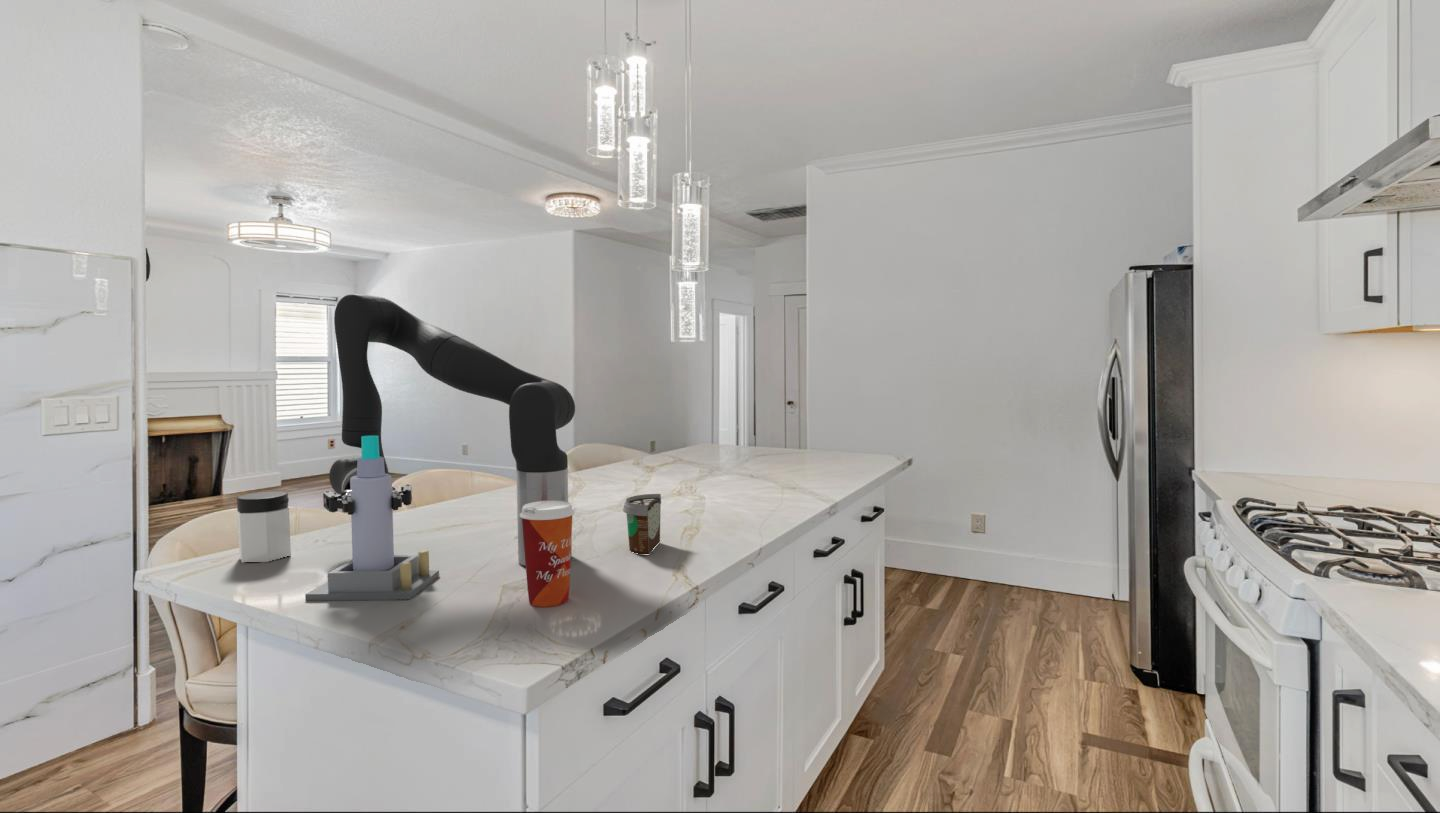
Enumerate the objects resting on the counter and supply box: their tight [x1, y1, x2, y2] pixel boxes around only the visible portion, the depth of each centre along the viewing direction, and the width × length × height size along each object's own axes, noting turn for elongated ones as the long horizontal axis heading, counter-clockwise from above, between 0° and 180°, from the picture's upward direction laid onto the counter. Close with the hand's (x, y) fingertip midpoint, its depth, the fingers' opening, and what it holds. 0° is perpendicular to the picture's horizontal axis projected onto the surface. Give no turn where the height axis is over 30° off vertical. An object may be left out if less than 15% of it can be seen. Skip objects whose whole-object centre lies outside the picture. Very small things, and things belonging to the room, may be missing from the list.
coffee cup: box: [519, 501, 576, 608], centre depth 107 cm, size 8×8×15 cm
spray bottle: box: [350, 436, 395, 571], centre depth 113 cm, size 6×6×22 cm
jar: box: [236, 491, 292, 564], centre depth 132 cm, size 9×8×12 cm
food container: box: [622, 493, 662, 555], centre depth 137 cm, size 12×6×10 cm, turn 172°
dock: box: [304, 549, 440, 602], centre depth 114 cm, size 16×12×5 cm
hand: (373, 506), depth 111 cm, fingers closed on spray bottle, 6 cm apart
